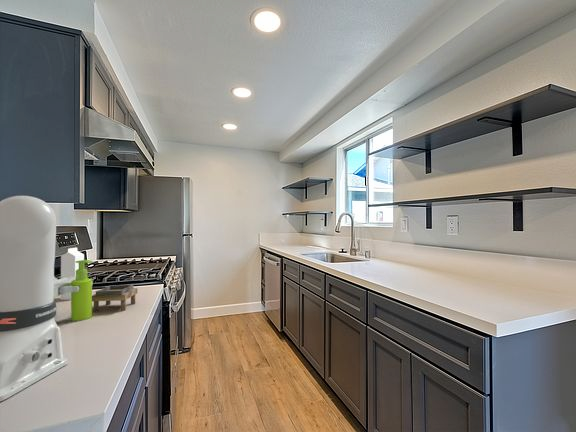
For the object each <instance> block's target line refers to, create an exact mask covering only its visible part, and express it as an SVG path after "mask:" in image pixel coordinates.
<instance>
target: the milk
mask: <svg viewBox="0 0 576 432" xmlns="http://www.w3.org/2000/svg"><path fill="white" fill-rule="evenodd" d="M80 260H85V254H84V253H82V252H80V251H79V250H78V247H70V248H68V249H67V252H66V253H63V255H60V279H61V278H65V277H76V270H77V269H79V263H76V261H80ZM60 300H61V301H71V292H69V293H65V294H63V295H60Z"/></svg>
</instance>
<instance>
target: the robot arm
mask: <svg viewBox="0 0 576 432" xmlns="http://www.w3.org/2000/svg"><path fill="white" fill-rule="evenodd" d="M56 239H57V216H56V213H55V211H54V209H53V208H52V206H51V205H49V203H47V202H46V201H44V200H43V199H40V198H38V197H34V196H30V195H14V196H9V197H7V198H4V199H2V200H1V201H0V402H3V401H5V400H8V398H11V397H12V396H14V395H16V394H18V393H19V392H21V391H23V390H24V389H26V388H28V387H30V386H31V385H33V384H35V383H37V382H38V381H40V380H42V379H43V378H45V377H47V376H49V375H51V374H52V373H54V372H56V371H57V370H60V369H61V368H62V367H64V366H66V365H68V358H67V357H65V356H64V355H63V354H64V353H63V345H62V336H61V335H62V334H61V329H60V327H59V325H58V324H57V322H56V320H55V316H56V315H57V309H58V307H57V301H56V300H55V298H57V297H61V295H63V294H65V293H69V292H77V291H80V286H71V281H73V280H76V277H65V278H61V277H60V278H59V279H58V277H57V278H56V276H55V260H56V243H57V242H56ZM93 284H94V283H93V281H92V286H93Z"/></svg>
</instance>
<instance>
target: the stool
mask: <svg viewBox="0 0 576 432" xmlns="http://www.w3.org/2000/svg"><path fill="white" fill-rule="evenodd" d="M137 294H138V288H137V287H136V288H134V284H120V285H116V284H114V285H108V286H106V287H103V288H101V289H98V290H96V291H95V294H92V302H93V312H94V311H95V312H94V313H97V312H99V309H100V308H99V306H100V305H99V304H100V302H105V306H110V305H111V303H112V302H113V301H114V302H115V301H116V302H117V301H120V312H125V311H126V305H127V304H126V300H128V299H130V304H131V305H135V304H136V295H137ZM96 311H97V312H96Z"/></svg>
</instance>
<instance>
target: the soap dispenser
mask: <svg viewBox="0 0 576 432" xmlns="http://www.w3.org/2000/svg"><path fill="white" fill-rule="evenodd" d="M76 263H79V269H77V270H76V280H73V281H71V286H80V291H77V292H71V300H70V303H71V304H70V305H71V306H70V308H71V309H70V313H71V314H70V317H71V318H70V320H71V321H74V322H77V321H84V320H88V319H91V318H92V317H93V301H92V295H93V285H92V282H93V279H92V278H89V277H88V268H86V267H85V264H93V263H94V261H93V260H89V259H84V260H80V261H76Z"/></svg>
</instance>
